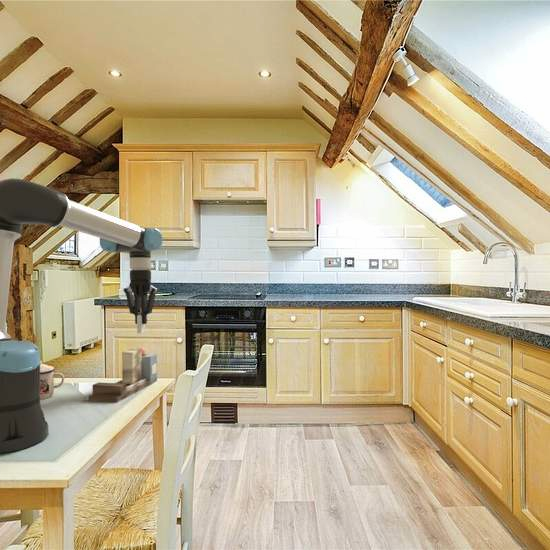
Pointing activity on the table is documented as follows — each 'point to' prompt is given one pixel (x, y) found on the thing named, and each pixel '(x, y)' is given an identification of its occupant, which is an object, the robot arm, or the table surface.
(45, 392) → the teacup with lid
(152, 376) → the cabinet
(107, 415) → the table surface
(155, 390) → the table surface
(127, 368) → the carriage
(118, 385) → the rail bed
